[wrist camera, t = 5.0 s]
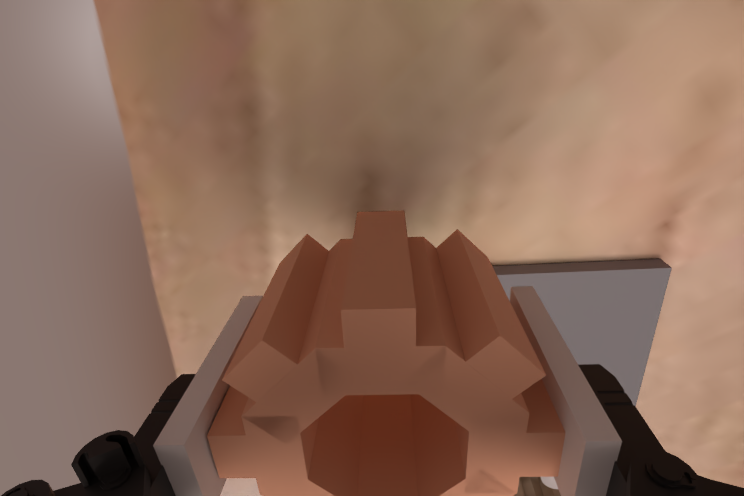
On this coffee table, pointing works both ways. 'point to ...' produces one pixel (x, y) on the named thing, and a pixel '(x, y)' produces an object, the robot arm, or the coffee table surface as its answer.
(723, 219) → the coffee table surface
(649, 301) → the gear board
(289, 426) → the loose gear
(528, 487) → the gear
